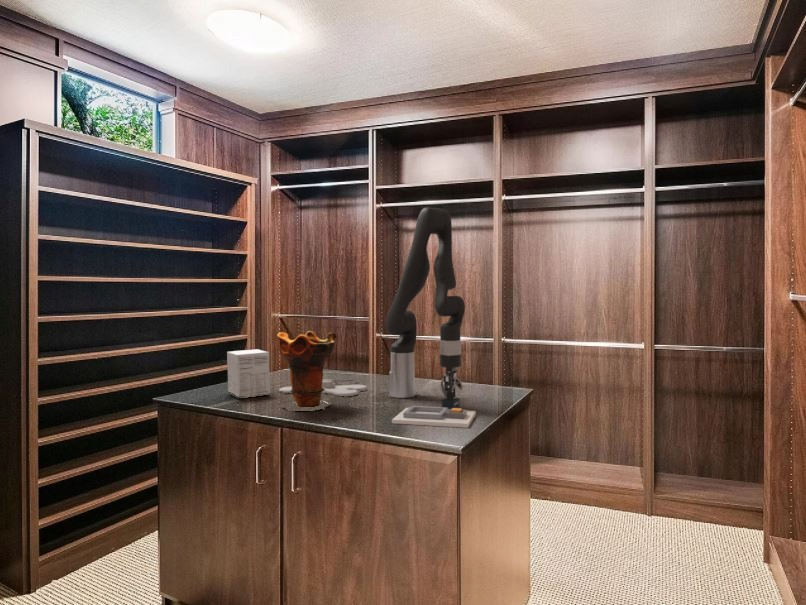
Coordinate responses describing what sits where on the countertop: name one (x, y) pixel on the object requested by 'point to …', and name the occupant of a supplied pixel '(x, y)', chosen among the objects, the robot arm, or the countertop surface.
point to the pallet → (434, 417)
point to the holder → (335, 388)
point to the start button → (456, 410)
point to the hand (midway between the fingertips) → (451, 401)
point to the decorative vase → (306, 365)
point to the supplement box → (248, 372)
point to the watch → (456, 401)
